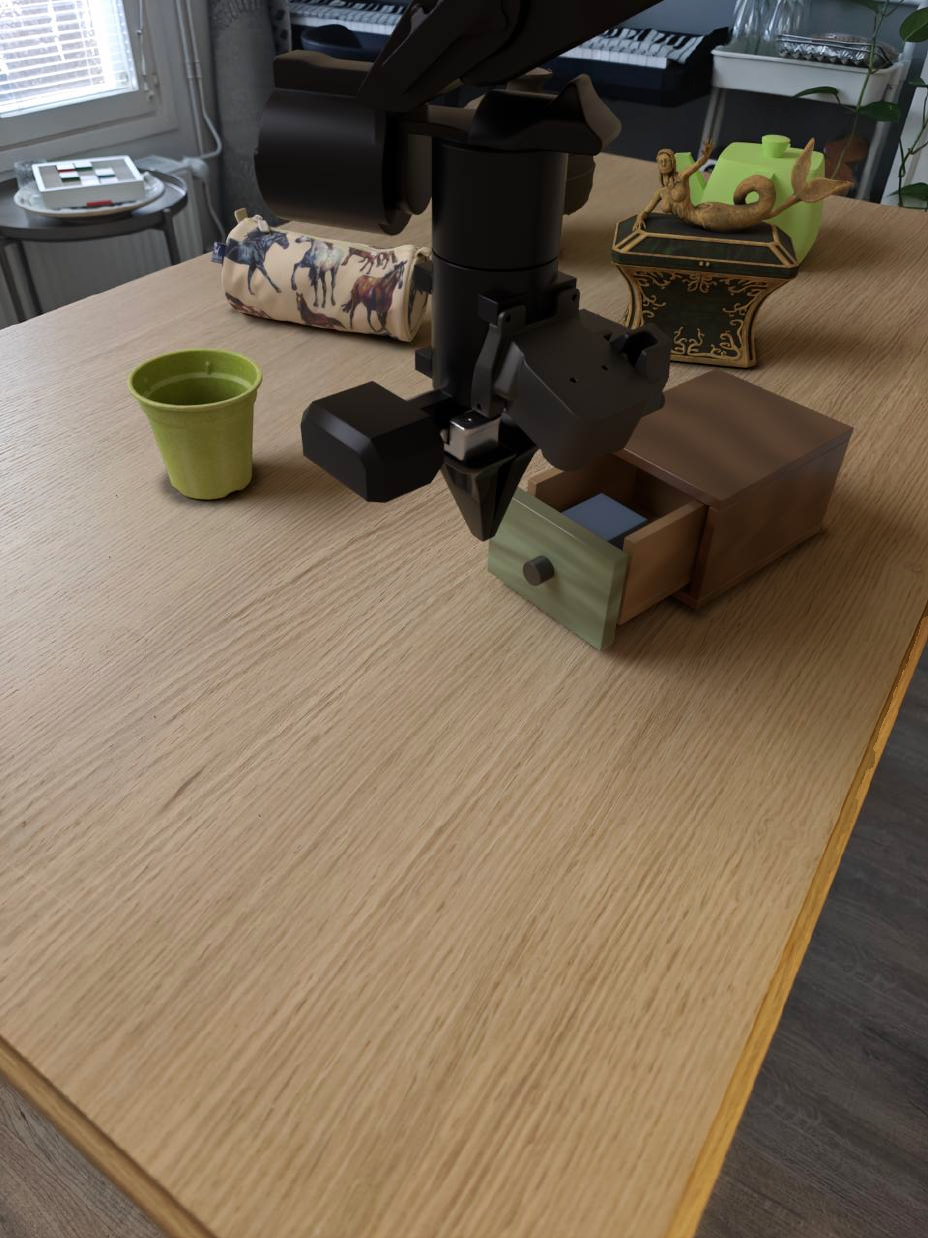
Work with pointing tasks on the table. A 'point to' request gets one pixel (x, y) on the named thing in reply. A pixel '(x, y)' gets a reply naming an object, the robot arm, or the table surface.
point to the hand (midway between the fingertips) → (482, 536)
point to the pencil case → (321, 280)
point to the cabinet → (741, 472)
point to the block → (606, 519)
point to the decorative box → (710, 260)
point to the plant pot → (201, 416)
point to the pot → (578, 165)
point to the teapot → (769, 162)
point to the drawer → (597, 547)
